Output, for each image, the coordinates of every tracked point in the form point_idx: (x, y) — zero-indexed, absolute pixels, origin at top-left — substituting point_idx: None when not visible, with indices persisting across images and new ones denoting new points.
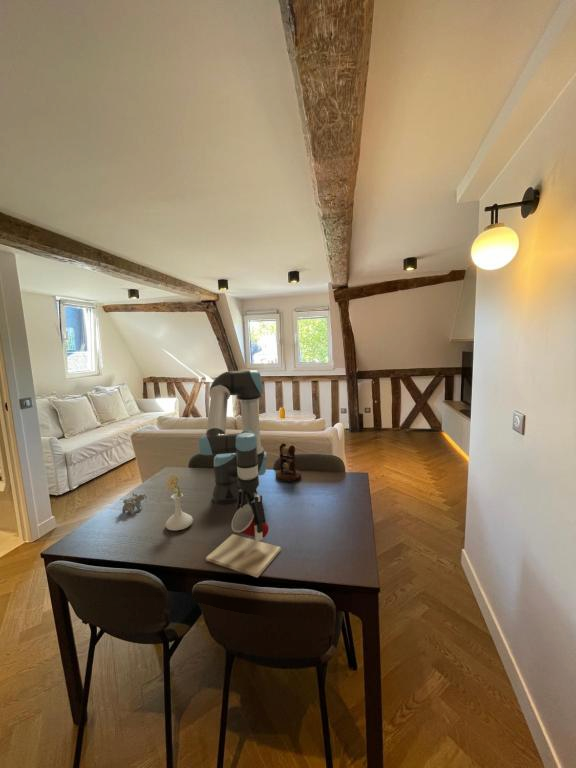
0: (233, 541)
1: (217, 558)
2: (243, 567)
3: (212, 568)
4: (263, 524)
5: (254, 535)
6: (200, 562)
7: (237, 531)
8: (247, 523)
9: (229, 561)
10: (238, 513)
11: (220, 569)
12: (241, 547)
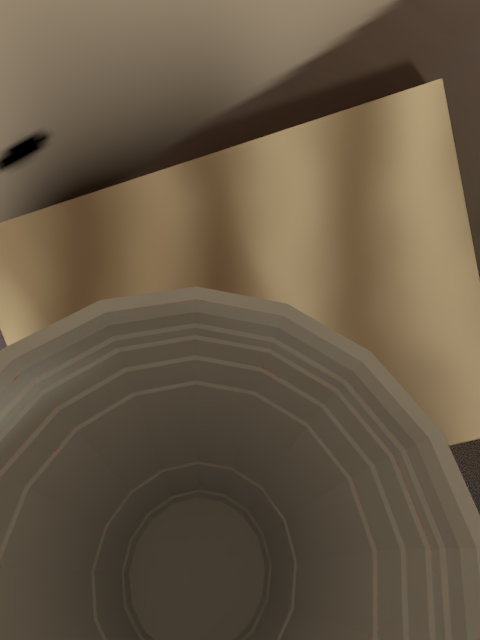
0: (418, 371)
1: (343, 141)
2: (91, 215)
3: (303, 67)
4: (83, 631)
5: (138, 463)
6: (450, 37)
7: (139, 301)
8: (316, 552)
9: (231, 186)
10: (447, 619)
11: (243, 106)
12: None
